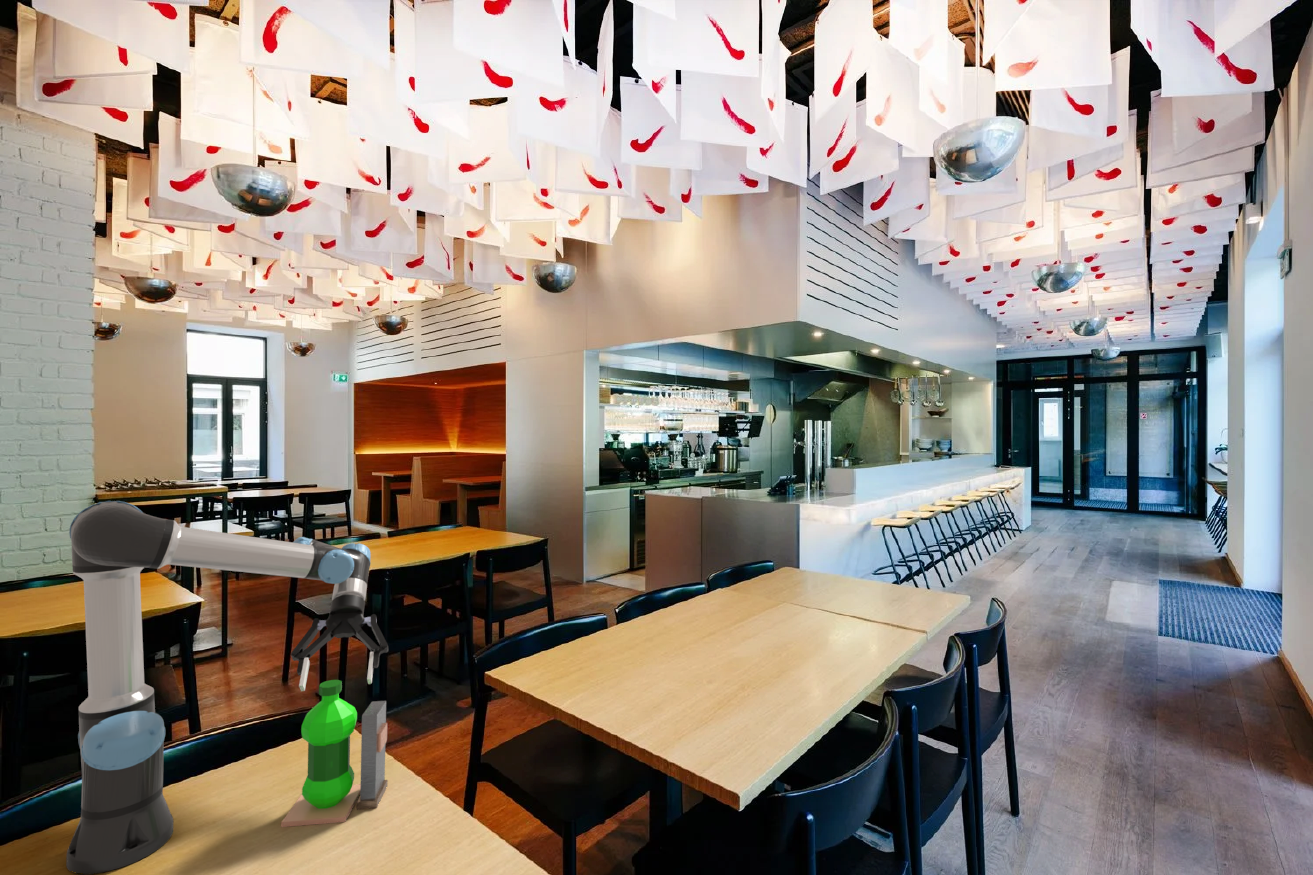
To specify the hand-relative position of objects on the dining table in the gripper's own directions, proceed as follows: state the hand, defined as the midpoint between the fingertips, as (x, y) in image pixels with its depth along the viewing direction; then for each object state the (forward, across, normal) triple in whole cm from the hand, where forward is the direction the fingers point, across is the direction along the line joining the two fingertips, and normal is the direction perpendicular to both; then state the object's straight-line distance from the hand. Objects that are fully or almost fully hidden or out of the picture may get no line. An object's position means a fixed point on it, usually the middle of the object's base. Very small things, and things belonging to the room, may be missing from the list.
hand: (336, 684), depth 135 cm
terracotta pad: (+22, 0, -11) cm, 24 cm away
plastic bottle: (+21, 0, -10) cm, 23 cm away
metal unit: (+21, -9, -11) cm, 25 cm away
